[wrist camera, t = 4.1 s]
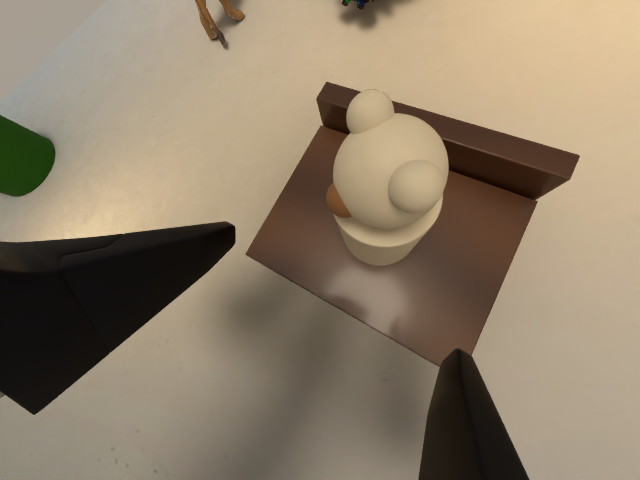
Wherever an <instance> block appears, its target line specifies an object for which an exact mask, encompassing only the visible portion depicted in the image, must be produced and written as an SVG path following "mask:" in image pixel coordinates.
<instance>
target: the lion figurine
mask: <svg viewBox="0 0 640 480" xmlns="http://www.w3.org/2000/svg"><path fill="white" fill-rule="evenodd" d="M195 1H196V4H197V7H198V10H199V14H200V20H201V23H202V25H203V27H204V28H205V30H206V32H207V34H208V36H209V38H210V39H215V38H216V37H217V35H218V37H219V40H220V42H221V44H222V45H225V42H226V41H225V38H224V36H223V34H222V32H221V31H220V30H219V29H218V27H217V26H216V24H215V23H214V21H213V19H212V18H211V16H210V13H209V12H208V10H207V8H206V0H195ZM219 1H220V2H221V4H222V5H223V7H224V10H225V13H226V14H227V15H229V16H230V17H232V18H234V19H235V20H237V21H238V20H241V19H242V18H243V17H244V14H243V12H242V11H241V10H236V11H235V10H234V9H233V8H232V6H231V4H230V2H229V0H219ZM209 23H210V24H209ZM210 25H211V26H212V28H211V26H210Z"/></svg>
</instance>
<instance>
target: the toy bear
mask: <svg viewBox="0 0 640 480" xmlns="http://www.w3.org/2000/svg"><path fill="white" fill-rule="evenodd" d="M346 121H347V126H348V128H349V131H350V132H351V133H350V134H349V135H348V136H347V137H346V139H345V140H344V141H343V143H342V145H341V146H340V148H339V150H338V153H337V155H336V159H335V162H334V168H333V181H334V182H333V183H332V184H331V186H330V187H329V189H328V191H327V194H326V202H327V206H328V208H329V209H330V211H331V212H332V213H333V214H334V217H335V219H336V222H337V224H338V227H339V229H340V232H341V234H342V237H343V239H344V242H345V244H346V246H347V248H348V250H349V251H350V252H351V253H352V254H353V255H354V256H355V257H356V258H357V259H359V260H360V261H362V262H364V263H367V264H370V265H376V266H384V265H390V264H393V263H396V262H398V261H400V260H401V259H403V258H404V257H405V256H406V255H407V254H408V253H409V252H410V251H411V250H412V249H413V248H414V246H415V245H416V244H417V243H418V242H419V241H420V239H421V238H422V237H423V236H424V235H425V234H426V233H427V231H428V230H429V229H430V228H431V227H432V225H433V224H434V223H435V221H436V219H437V217H438V216H439V213H440V210H441V207H442V201H443V191H444V188H445V186H446V182H447V177H448V170H449V165H448V155H447V151H446V148H445V146H444V144H443V141H442V140H441V138H440V136H439V135H438V134H437V132H436V131H435V130H434V129H433V128H432V127H431V126H430V125H428V124H427V123H426V122H424V121H423V120H421V119H419V118H417V117H414V116H411V115H407V114H400V113H394V107H393V104H392V101H391V100H390V98H389V97H388V96H387V95H386V94H385V93H384V92H382V91H380V90H376V89H369V90H365V91H363V92H361V93H359V94H358V95H356V96H355V97H354V99H353V100H352V101H351V103H350V105H349V107H348V110H347V115H346Z"/></svg>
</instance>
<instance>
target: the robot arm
mask: <svg viewBox="0 0 640 480" xmlns="http://www.w3.org/2000/svg"><path fill="white" fill-rule="evenodd" d="M234 244H235V226H234V225H232V224H230V223H229V222H217V223H208V224H200V225H192V226H183V227H175V228H167V229H158V230H150V231H141V232H133V233H125V234H116V235H108V236H98V237H88V238H76V239H62V240H48V241H34V242H0V398H1V397H3V396H5V395H7V396H8V397H9V398H11V399H12V400H13V401H15V402H16V403H18V404H19V405H20V406H22V407H23V408H25V409H26V410H27V411H29V412H30V413H32V414H33V415H35V414H36V413H38V412H39V411H41V410H42V409H43V408H45V407H46V406H47V405H48V404H49V403H51V402H52V401H53V400H54V399H55V398H57V397H58V396H59V395H60V394H61V393H63V392H64V391H65V390H66V389H67V388H69V387H70V386H71V385H72V384H73V383H75V382H76V381H77V380H78V379H79V378H81V377H82V376H83V375H84V374H86V373H87V372H88V371H89V370H90V369H92V368H93V367H94V366H95V365H96V364H98V363H99V362H100V361H101V360H102V359H104V358H105V357H106V356H107V355H108V354H109V353H110V352H112V351H113V350H114V349H115V348H117V347H118V346H119V345H120V344H121V343H123V342H124V341H125V340H126V339H128V338H129V337H130V336H131V335H132V334H134V333H135V332H136V331H137V330H138V329H140V328H141V327H142V326H143V325H144V324H146V323H147V322H148V321H149V320H150V319H152V318H153V317H154V316H155V315H156V314H158V313H159V312H160V311H161V310H162V309H164V308H165V307H166V306H167V305H168V304H170V303H171V302H172V301H173V300H175V299H176V298H177V297H178V296H179V295H181V294H182V293H183V292H184V291H185V290H187V289H188V288H189V287H190V286H191V285H193V284H194V283H195V282H196V281H197V280H199V279H200V278H201V277H202V276H203V275H205V274H206V273H207V272H208V271H209V270H210V269H211V268H212V267H213V266H214V265H215V264H216V263H217V262H218V261H219V260H220V259H221V258H222V257H223V256H224V255H225V254H226V253H227V252H228V251H229V250H230V249H231V248H232V247H233V246H234ZM418 480H529V478H528V475H527V473H526V471H525V469H524V467H523V465H522V463H521V460H520V458H519V456H518V454H517V452H516V450H515V448H514V445H513V443H512V441H511V439H510V437H509V435H508V432H507V430H506V428H505V426H504V424H503V422H502V420H501V417H500V415H499V413H498V411H497V409H496V407H495V405H494V402H493V400H492V398H491V396H490V394H489V392H488V390H487V387H486V385H485V383H484V381H483V379H482V377H481V375H480V372H479V370H478V368H477V366H476V364H475V362H474V359H473V357H472V356H471V355H470V354H469V353H467V352H465V351H463V350H461V349H459V348H456V349H454V350H453V351H452V352H451V353H450V354H449V355H448V356H447V357H446V358H445V359H444V360H443V361H442V363H441V366H440V369H439V373H438V376H437V380H436V384H435V387H434V391H433V395H432V399H431V402H430V406H429V410H428V416H427V422H426V429H425V436H424V443H423V450H422V458H421V465H420V472H419V479H418Z"/></svg>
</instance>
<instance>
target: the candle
mask: <svg viewBox="0 0 640 480" xmlns="http://www.w3.org/2000/svg"><path fill="white" fill-rule="evenodd" d="M54 157H55V150H54V146H53V144H52V142H51V141H50V140H48V139H47V138H45V137H43V136H41V135H39V134H37V133H35V132H33V131H31V130H29V129H27V128H25V127H23V126H21V125H19V124H17V123H15V122H13V121H11V120H9V119H7V118H5V117H3V116H1V115H0V192H1V193H4V194H7V195H11V196H21V195H25V194H27V193H29V192H31V191H32V190H34V189H35V188H36V187H38V186H39V185H40V184H41V183H42V182H43V180H44V179H45V178H46V176H47V175H48V173H49V171H50V170H51V167H52V165H53V162H54Z"/></svg>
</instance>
